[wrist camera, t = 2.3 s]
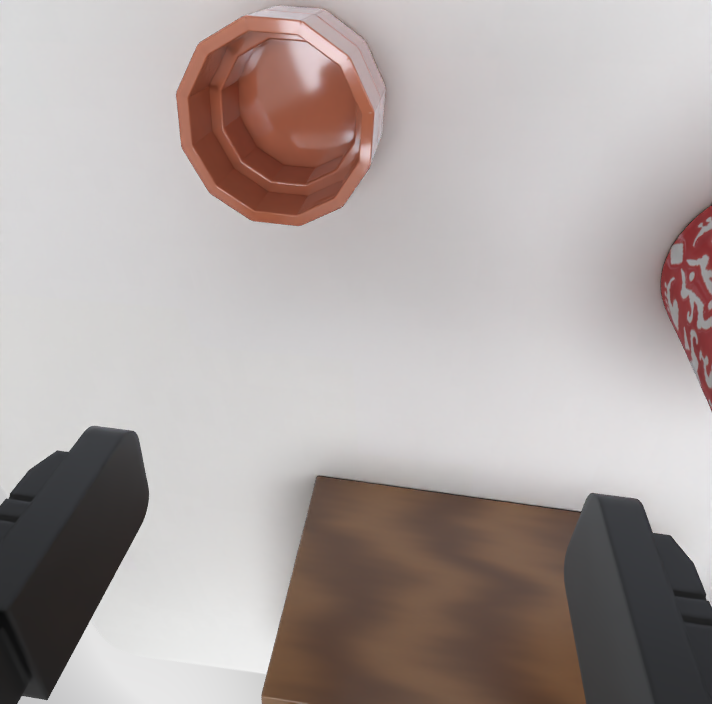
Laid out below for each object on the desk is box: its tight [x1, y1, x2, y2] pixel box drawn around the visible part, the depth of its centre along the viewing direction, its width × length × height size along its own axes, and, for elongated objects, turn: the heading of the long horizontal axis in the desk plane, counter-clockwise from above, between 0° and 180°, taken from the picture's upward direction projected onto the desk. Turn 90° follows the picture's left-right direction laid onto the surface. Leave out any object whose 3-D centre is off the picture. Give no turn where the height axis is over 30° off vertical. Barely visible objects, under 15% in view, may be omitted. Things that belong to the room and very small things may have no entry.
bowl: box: [176, 5, 386, 226], centre depth 21 cm, size 6×6×4 cm
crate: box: [262, 476, 586, 704], centre depth 32 cm, size 18×16×12 cm
